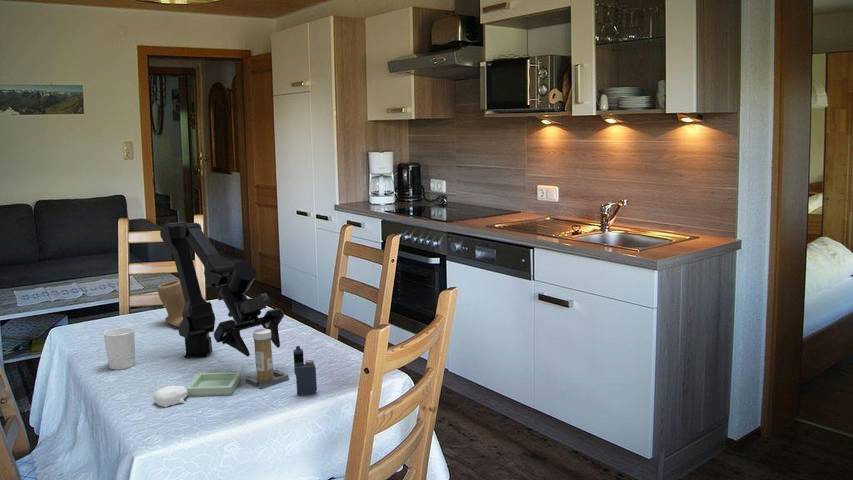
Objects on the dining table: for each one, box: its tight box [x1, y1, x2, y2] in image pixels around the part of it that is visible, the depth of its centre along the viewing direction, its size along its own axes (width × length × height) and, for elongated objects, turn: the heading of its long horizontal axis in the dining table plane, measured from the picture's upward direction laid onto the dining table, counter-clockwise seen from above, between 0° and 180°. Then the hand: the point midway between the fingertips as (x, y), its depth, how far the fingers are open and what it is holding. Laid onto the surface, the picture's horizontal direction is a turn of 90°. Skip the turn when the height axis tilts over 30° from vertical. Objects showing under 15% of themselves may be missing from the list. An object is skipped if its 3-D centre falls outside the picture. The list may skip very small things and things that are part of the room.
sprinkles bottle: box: [252, 328, 275, 383], centre depth 191 cm, size 5×5×14 cm
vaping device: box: [292, 345, 318, 396], centre depth 181 cm, size 3×5×12 cm, turn 95°
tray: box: [186, 371, 242, 397], centre depth 188 cm, size 11×11×2 cm
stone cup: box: [156, 279, 185, 328], centre depth 246 cm, size 15×12×15 cm
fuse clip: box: [245, 369, 290, 390], centre depth 191 cm, size 7×9×1 cm
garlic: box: [152, 385, 188, 408], centre depth 179 cm, size 8×7×4 cm
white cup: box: [103, 327, 136, 370], centre depth 206 cm, size 8×8×10 cm
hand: (264, 351), depth 190 cm, fingers open, 9 cm apart
